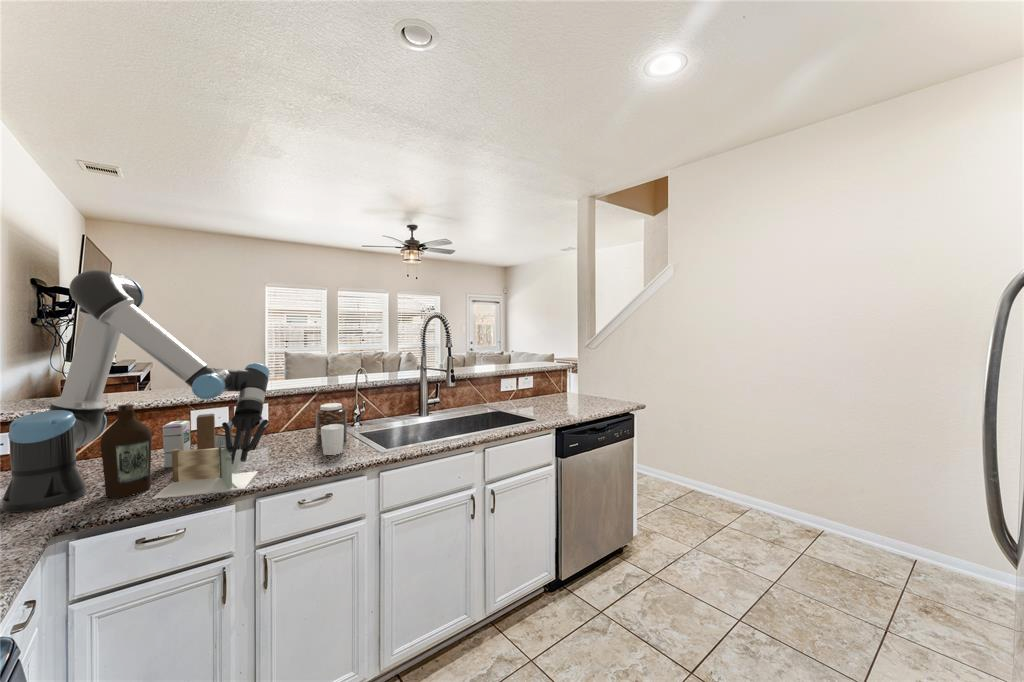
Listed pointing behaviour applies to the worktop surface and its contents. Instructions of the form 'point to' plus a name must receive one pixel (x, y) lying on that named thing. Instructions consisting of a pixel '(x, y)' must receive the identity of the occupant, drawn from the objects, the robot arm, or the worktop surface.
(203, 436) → the wooden block
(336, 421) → the jar
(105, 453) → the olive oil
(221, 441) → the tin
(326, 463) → the worktop surface
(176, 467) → the fixed fence section
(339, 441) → the white cup
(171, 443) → the syrup box
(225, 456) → the hinged fence section
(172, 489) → the card
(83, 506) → the worktop surface
